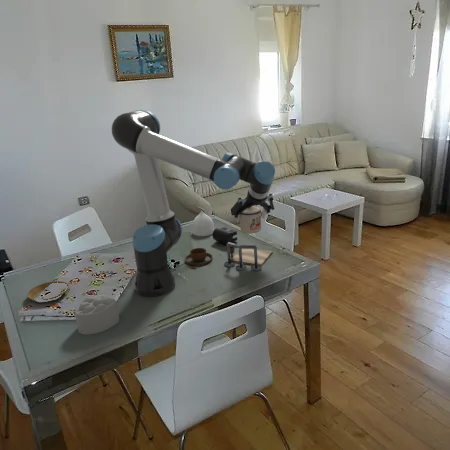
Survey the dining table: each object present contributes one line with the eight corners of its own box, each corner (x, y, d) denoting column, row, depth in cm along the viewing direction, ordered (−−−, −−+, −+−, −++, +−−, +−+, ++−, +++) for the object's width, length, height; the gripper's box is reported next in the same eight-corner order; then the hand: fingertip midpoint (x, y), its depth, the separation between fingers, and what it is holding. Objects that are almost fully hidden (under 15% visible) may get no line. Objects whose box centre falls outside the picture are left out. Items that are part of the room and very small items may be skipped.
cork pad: (261, 266, 171) (260, 264, 171) (230, 261, 177) (230, 260, 177) (272, 252, 183) (272, 251, 183) (243, 249, 189) (242, 247, 188)
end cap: (212, 243, 198) (211, 229, 196) (223, 238, 203) (222, 225, 201) (227, 248, 192) (226, 234, 189) (238, 243, 196) (237, 229, 194)
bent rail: (257, 273, 165) (257, 250, 162) (220, 267, 172) (219, 245, 169) (263, 267, 170) (262, 244, 167) (227, 261, 177) (225, 240, 174)
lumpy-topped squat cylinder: (123, 320, 139) (119, 297, 136) (88, 339, 130) (83, 315, 127) (106, 310, 146) (102, 288, 143) (71, 327, 137) (66, 304, 134)
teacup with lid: (252, 235, 168) (251, 208, 164) (235, 231, 174) (233, 205, 170) (270, 226, 176) (269, 200, 173) (253, 223, 182) (251, 197, 178)
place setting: (199, 251, 191) (198, 239, 189) (237, 258, 181) (236, 246, 179) (176, 266, 178) (174, 253, 176) (215, 275, 167) (214, 262, 165)
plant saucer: (51, 284, 169) (50, 278, 168) (78, 290, 162) (76, 284, 161) (20, 301, 156) (18, 295, 155) (47, 309, 150) (46, 302, 149)
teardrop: (208, 226, 220) (206, 205, 216) (218, 232, 211) (216, 210, 207) (189, 231, 215) (187, 209, 211) (199, 237, 206) (196, 214, 202)
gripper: (230, 203, 153) (224, 229, 173) (290, 196, 157) (278, 222, 177) (226, 186, 157) (221, 213, 176) (285, 179, 160) (273, 206, 180)
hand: (249, 218), depth 177 cm, fingers closed on teacup with lid, 11 cm apart
